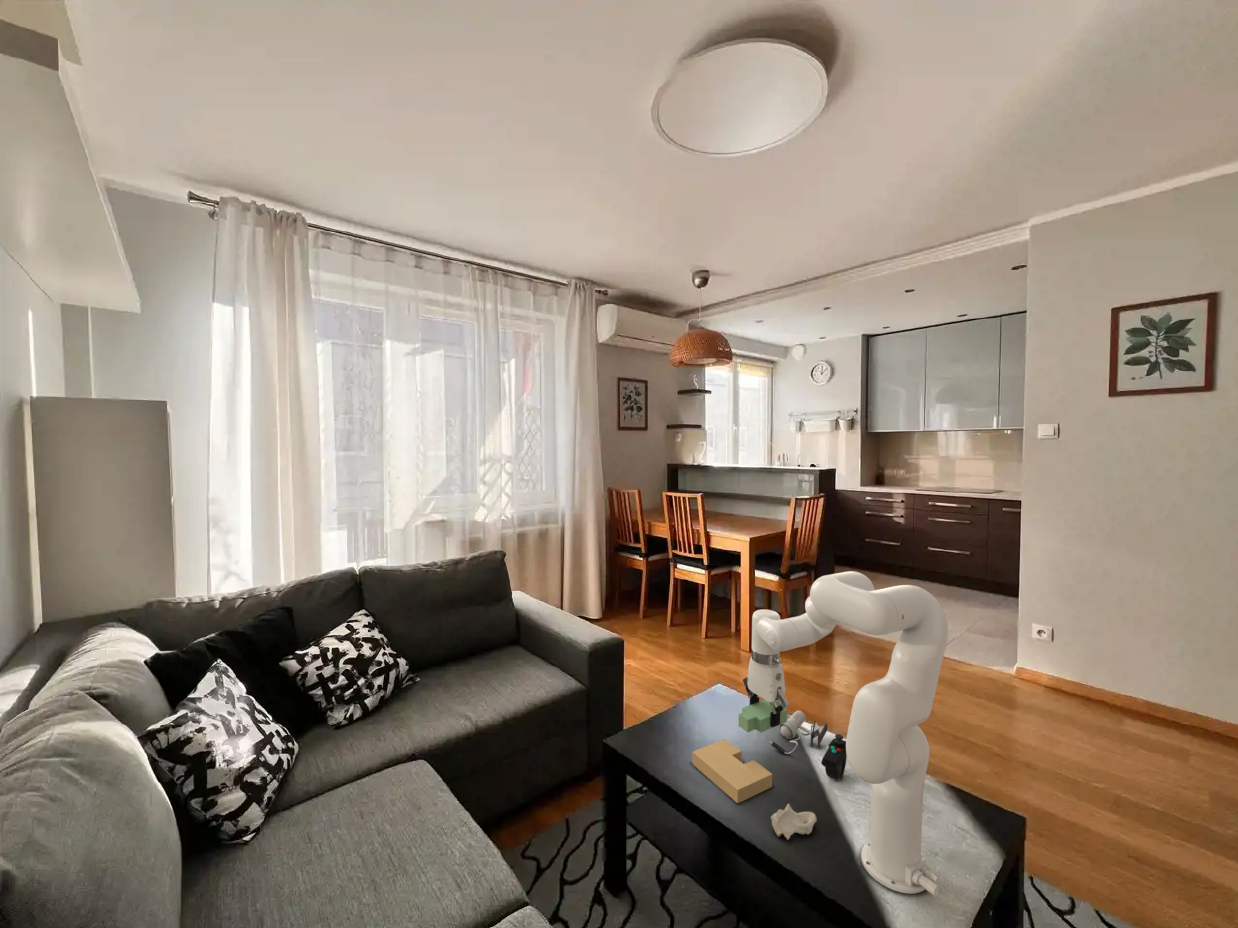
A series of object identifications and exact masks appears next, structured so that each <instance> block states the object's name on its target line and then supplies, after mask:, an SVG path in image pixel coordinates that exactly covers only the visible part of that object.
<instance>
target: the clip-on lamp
mask: <svg viewBox="0 0 1238 928" xmlns="http://www.w3.org/2000/svg"><path fill="white" fill-rule="evenodd" d="M806 720H807V719H806V714H805V713H804V712H803V711H801V710H796V711H795V712H793V713H792V714H791V715H790V717H789V718H787V722H786V723H783V724H781V725H778V727H779V731H780V734H781V735H782V736H783V737H785V738H786V739H789V743H794V744H796V745H795V746H794V748H793V749H792V750H791V751H790V752H786V750H785V749H784V748H783V747H781V746H780V745H778V744H777V743H776V742H774V741H771V740H769V742H768V743H770V744H771V745H770V746H772V747H773V748H774V749H776V750H777V751H778V752H779V753H781V754H786V755H790V754H792V753H793V752H794V751H795V750H796V749H797V747H798V745H799V743H798V741H799V740H800V739H801V737H802V736H809V735H810V747H813V745H814V739H815V738H817V748H818V749H820V747H821V743H822V742H823V740H824V737H825V736H826V733H827V732H828V723H824V725H822V726H819V725H818V723H817V720H814V721H813V724H812V725H811V724H810V730H809V729H808V728H806V727H804V726H803V724H804V723H805V721H806ZM798 729H800V730H801V731H803V732H805V733H803V732H801V733H800V734H799V737H798V738H796V739H793V738H795V737H796V735H797V734H798Z"/></svg>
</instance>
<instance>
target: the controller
mask: <svg viewBox="0 0 1238 928" xmlns="http://www.w3.org/2000/svg"><path fill="white" fill-rule="evenodd" d="M820 764H821V765H822V766H823V767H824V770H825V774H826V776H827V777H828V778H830V779H832V780H835V781H840V780H841V779H842V778H843V776H844V774H845V770H846V765H847V754H846V740H844V736H843V735H842V734H839V733H836V734H835V735H834V738H832V740H831V741H830V743H829V744H828V748H827V750H826V752H825V753H824V755H823V757H822V759H821V762H820Z"/></svg>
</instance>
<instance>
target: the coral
mask: <svg viewBox="0 0 1238 928" xmlns="http://www.w3.org/2000/svg"><path fill="white" fill-rule="evenodd" d="M770 820H771V826H772V829H773V830H774V832H775V834H776V836H777V837H779V838H780V837H781V836H782V835H783V836H784V838H786V840H788V841H789V839H791V836H793V835H794V834H795V833H797V834H799V835H802V836H803V835H810V834H811V833H812V832H813V828H814V825H815V823H816V822H818V820H817V816H816V814H815V813H814V812H812V811H802V812H801V811H800V812H796V811H794V810H793V809H792V806H791V804H790V803H787V804H786V807H785V808H784V809H781V808H780V809H778V810H777V811H776V812H775V813H773V814H772V815H771V816H770Z"/></svg>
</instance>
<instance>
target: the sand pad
mask: <svg viewBox="0 0 1238 928" xmlns="http://www.w3.org/2000/svg"><path fill="white" fill-rule="evenodd" d="M691 753H692V754H691V756H692V759H691V761H692V762H691V764H692V766H694V767H695V768H697V770H698V771H700V772H701V773H702V775H704V776H705V777H706V778H708V779H709V780H710V781H711V782H712V783H714V784H715V786H716V787H718V788H719V789H720V790H721V791H722V792H723V793H725V794H726V795H727V796H729V797H730V798H731V799H732V800H733V801H734V802H735V803H736V804H740V803H742V802H744V801H746V800H748V799H750V798H752V797H754V796H756V795H758V794H760V793H762V792H764V791H767V790H769V789H771V788H773V773H772V772H770V771H769V770H768V769H767V768H765V767H764V766H762V765H761V764H760V763H759V762H757V761H755V760H754V759H752V760H750V761H748V762H745V763H743V762H742V750H741V749H739V748H738V747H737V746H736V745H734V744H732V743H731V742H730V741H728V739H726V738H725V739H722V740H719V741H716V742H713V743H711V744H709V745H706V746H703V747H700V748H697V749H695V750H693V751H692V752H691Z"/></svg>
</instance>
